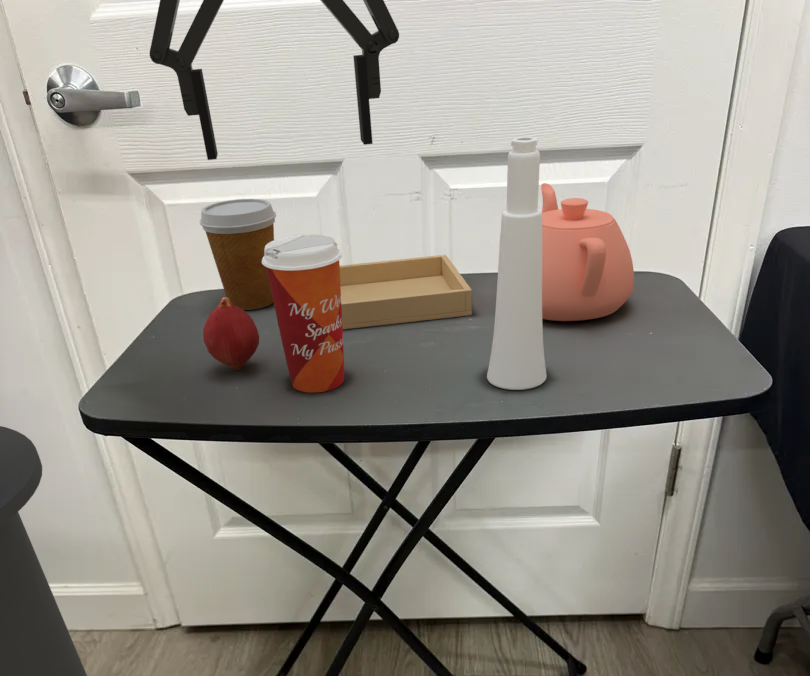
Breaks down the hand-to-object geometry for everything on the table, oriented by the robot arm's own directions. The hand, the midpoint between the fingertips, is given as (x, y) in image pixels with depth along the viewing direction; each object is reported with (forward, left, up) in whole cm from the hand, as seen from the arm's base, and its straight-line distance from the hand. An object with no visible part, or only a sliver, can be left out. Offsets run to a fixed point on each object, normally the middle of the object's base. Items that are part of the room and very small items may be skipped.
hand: (290, 150), depth 68 cm
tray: (+10, +22, -22) cm, 33 cm away
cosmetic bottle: (+20, -5, -22) cm, 30 cm away
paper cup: (0, 0, -22) cm, 22 cm away
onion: (-9, +6, -22) cm, 25 cm away
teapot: (+31, +14, -22) cm, 41 cm away
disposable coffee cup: (-7, +28, -22) cm, 37 cm away
